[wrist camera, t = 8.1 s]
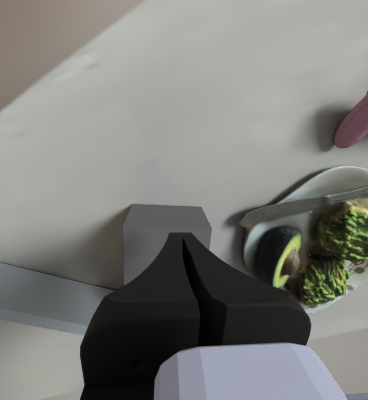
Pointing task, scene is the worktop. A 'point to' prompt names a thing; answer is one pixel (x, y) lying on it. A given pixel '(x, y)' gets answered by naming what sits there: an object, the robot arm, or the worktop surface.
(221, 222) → the worktop surface
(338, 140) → the video game controller
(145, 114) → the worktop surface
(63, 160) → the worktop surface
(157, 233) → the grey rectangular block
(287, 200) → the salad plate
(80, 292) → the side door
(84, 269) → the worktop surface
